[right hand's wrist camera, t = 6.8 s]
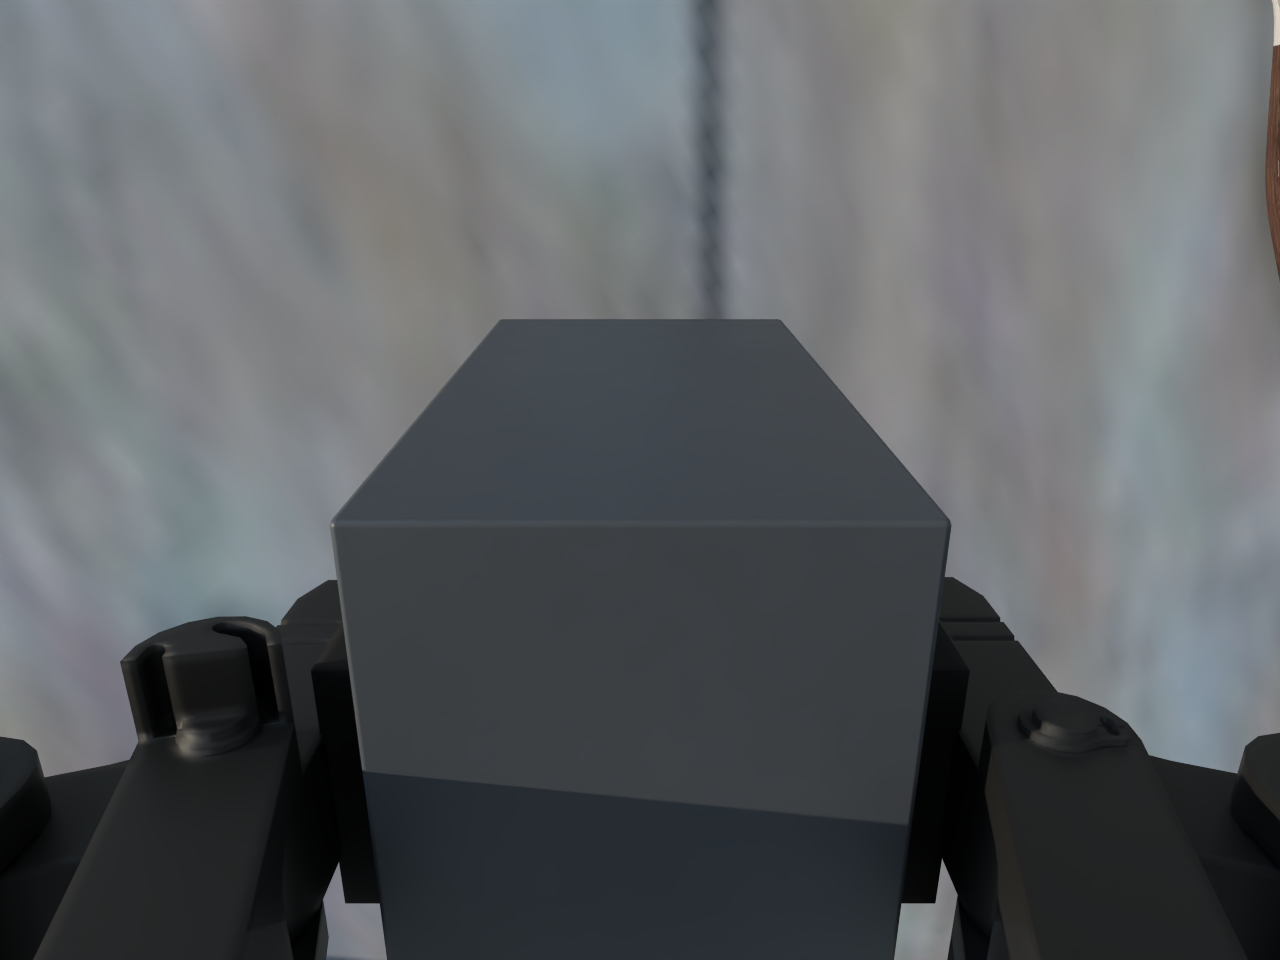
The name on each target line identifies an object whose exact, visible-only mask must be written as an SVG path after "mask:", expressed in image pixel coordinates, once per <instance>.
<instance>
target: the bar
mask: <svg viewBox="0 0 1280 960" xmlns="http://www.w3.org/2000/svg"><path fill="white" fill-rule="evenodd" d="M330 529H331V536H332V544H333V551H334V559H335V567H336V574H337V582H338V589H339V597H340V605H341V612H342V620H343V627H344V635H345V643H346V650H347V658H348V665H349V673H350V681H351V688H352V696H353V703H354V711H355V719H356V726H357V734H358V741H359V749H360V756H361V764H362V772H363V779H364V787H365V794H366V802H367V810H368V817H369V825H370V832H371V840H372V848H373V855H374V863H375V870H376V878H377V886H378V893H379V901H380V908H381V916H382V924H383V931H384V939H385V946H386V954H387V960H894V955H895V947H896V940H897V932H898V925H899V917H900V910H901V902H902V894H903V887H904V879H905V872H906V864H907V857H908V849H909V842H910V834H911V826H912V819H913V811H914V804H915V796H916V789H917V781H918V774H919V766H920V758H921V751H922V743H923V736H924V728H925V721H926V713H927V706H928V698H929V690H930V683H931V675H932V668H933V660H934V653H935V645H936V638H937V630H938V622H939V615H940V607H941V600H942V592H943V585H944V577H945V570H946V562H947V554H948V547H949V539H950V532H951V522H950V520H949V518H948V517H947V516H946V515H945V514H944V513H943V511H942V510H941V509H940V508H939V507H938V505H937V504H936V503H935V502H934V501H933V500H932V498H931V497H930V496H929V495H928V494H927V492H926V491H925V490H924V489H923V488H922V487H921V485H920V484H919V483H918V482H917V481H916V479H915V478H914V477H913V476H912V475H911V474H910V472H909V471H908V470H907V469H906V468H905V466H904V465H903V464H902V463H901V462H900V461H899V459H898V458H897V457H896V456H895V455H894V453H893V452H892V451H891V450H890V449H889V448H888V446H887V445H886V444H885V443H884V442H883V440H882V439H881V438H880V437H879V436H878V435H877V433H876V432H875V431H874V430H873V429H872V427H871V426H870V425H869V424H868V423H867V422H866V420H865V419H864V418H863V417H862V416H861V414H860V413H859V412H858V411H857V410H856V409H855V407H854V406H853V405H852V404H851V403H850V401H849V400H848V399H847V398H846V397H845V396H844V394H843V393H842V392H841V391H840V390H839V388H838V387H837V386H836V385H835V384H834V383H833V381H832V380H831V379H830V378H829V377H828V375H827V374H826V373H825V372H824V371H823V370H822V368H821V367H820V366H819V365H818V364H817V362H816V361H815V360H814V359H813V358H812V357H811V355H810V354H809V353H808V352H807V351H806V349H805V348H804V347H803V346H802V345H801V344H800V342H799V341H798V340H797V339H796V338H795V336H794V335H793V334H792V333H791V332H790V331H789V329H788V328H787V327H786V326H785V325H784V323H783V322H782V321H781V320H779V319H502V320H499V321H498V323H497V324H496V325H495V326H494V327H493V329H492V330H491V331H490V332H489V333H488V335H487V336H486V337H485V338H484V339H483V340H482V342H481V343H480V344H479V345H478V346H477V348H476V349H475V350H474V351H473V352H472V354H471V355H470V356H469V357H468V358H467V360H466V361H465V362H464V363H463V364H462V365H461V367H460V368H459V369H458V370H457V371H456V373H455V374H454V375H453V376H452V377H451V379H450V380H449V381H448V382H447V383H446V385H445V386H444V387H443V388H442V389H441V390H440V392H439V393H438V394H437V395H436V396H435V398H434V399H433V400H432V401H431V402H430V404H429V405H428V406H427V407H426V408H425V410H424V411H423V412H422V413H421V414H420V415H419V417H418V418H417V419H416V420H415V421H414V423H413V424H412V425H411V426H410V427H409V429H408V430H407V431H406V432H405V433H404V435H403V436H402V437H401V438H400V439H399V440H398V442H397V443H396V444H395V445H394V446H393V448H392V449H391V450H390V451H389V452H388V454H387V455H386V456H385V457H384V458H383V460H382V461H381V462H380V463H379V464H378V465H377V467H376V468H375V469H374V470H373V471H372V473H371V474H370V475H369V476H368V477H367V479H366V480H365V481H364V482H363V483H362V485H361V486H360V487H359V488H358V489H357V490H356V492H355V493H354V494H353V495H352V496H351V498H350V499H349V500H348V501H347V502H346V504H345V505H344V506H343V507H342V508H341V510H340V511H339V512H338V513H337V514H336V515H335V517H334V518H333V519H332V521H331V524H330Z"/></svg>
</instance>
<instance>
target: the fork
mask: <svg viewBox="0 0 1280 960" xmlns="http://www.w3.org/2000/svg"><path fill="white" fill-rule="evenodd" d="M1272 3H1273V9H1274V44H1273V61H1272V75H1271V89H1270V103H1269V117H1268V131H1267V150H1266V200H1267V209H1268V218H1269V224H1270V230H1271V236H1272V242H1273V247H1274V252H1275V258H1276V263H1277V269H1278V274H1279V280H1280V0H1272Z"/></svg>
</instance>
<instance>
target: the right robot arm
mask: <svg viewBox="0 0 1280 960" xmlns="http://www.w3.org/2000/svg"><path fill="white" fill-rule="evenodd" d="M120 663H121V667H122V672H123V676H124V680H125V684H126V689H127V693H128V697H129V702H130V706H131V710H132V714H133V719H134V723H135V727H136V731H137V736H138V740H139V742H138V744H137V746H136V748H135V750H134V752H133V754H132V756H131V759H130V760H127V761H123V762H119V763H115V764H111V765H106V766H101V767H96V768H91V769H86V770H81V771H75V772H70V773H65V774H60V775H55V776H50V777H45V778H44V775H43V771H42V768H41V764H40V761H39V757H38V754H37V750H35V749H34V748H33V747H32V746H30V745H29V744H28V743H26V742H25V741H24V740H19V739H12V738H6V737H0V960H326V955H327V946H328V938H329V936H328V929H327V922H326V916H325V909H324V903H323V898H324V895H325V893H326V891H327V888H328V886H329V884H330V881H331V879H332V877H333V874H334V872H335V870H336V867H337V865H338V863H339V864H340V871H341V877H342V884H343V891H344V897H345V903H380V901H379V893H378V886H377V878H376V870H375V863H374V855H373V848H372V840H371V832H370V825H369V817H368V810H367V802H366V794H365V787H364V779H363V772H362V764H361V756H360V749H359V741H358V734H357V726H356V719H355V711H354V703H353V696H352V688H351V681H350V673H349V665H348V658H347V650H346V643H345V635H344V627H343V620H342V612H341V605H340V597H339V589H338V582H337V580H328V581H326V582H324V583H323V584H321V585H320V586H318V587H316V588H315V589H313V590H311V591H310V592H308V593H307V594H305V595H303V596H302V597H300V598H299V599H297V601H296V602H295V603H294V605H293V606H292V607H291V608H290V610H289V611H288V612H287V614H286V615H285V616H284V618H283V619H282V620H281V625H277V627H274V626H273V625H272V624H270V623H269V622H267V621H264V620H259V619H255V618H250V617H246V616H242V617H215V618H209V619H204V620H198V621H193V622H188V623H185V624H182V625H179V626H176V627H173V628H171V629H168V630H165V631H162V632H159V633H157V634H156V635H154V636H152V637H150V638H149V639H147V640H145V641H143V642H142V643H140V644H138V645H136V646H135V647H134V648H133V649H132V650H131V651H130V652H129V653H128V654H127V655H126V656H125V657H124V658H123V659H122V660H121V661H120ZM942 859H943V861H944V864H945V866H946V868H947V871H948V873H949V875H950V878H951V880H952V882H953V885H954V887H955V889H956V892H957V894H958V897H957V903H956V909H955V916H954V922H953V928H952V934H951V941H950V947H949V953H948V959H947V960H1280V733H1276V734H1270V735H1263V736H1258V737H1257V738H1256V739H1254V740H1253V741H1252V742H1250V743H1249V744H1248V745H1247V746H1245V749H1244V753H1243V756H1242V760H1241V763H1240V767H1239V770H1238V774H1236V773H1231V772H1225V771H1220V770H1215V769H1210V768H1205V767H1200V766H1195V765H1190V764H1184V763H1179V762H1174V761H1170V760H1166V759H1162V758H1158V757H1154V756H1150V755H1148V753H1147V751H1146V749H1145V747H1144V745H1143V743H1142V740H1141V739H1140V738H1139V737H1138V735H1137V734H1136V733H1135V732H1134V730H1133V729H1132V728H1131V727H1130V726H1129V724H1128V723H1127V722H1125V721H1124V720H1122V719H1121V718H1119V717H1118V716H1116V715H1115V714H1113V713H1112V712H1110V711H1109V710H1107V709H1106V708H1104V707H1102V706H1099V705H1097V704H1094V703H1092V702H1090V701H1087V700H1085V699H1082V698H1080V697H1077V696H1073V695H1068V694H1064V693H1059V692H1057V691H1056V689H1055V688H1054V687H1053V685H1052V684H1051V683H1050V682H1049V680H1048V679H1047V678H1046V676H1045V675H1044V674H1043V673H1042V671H1041V670H1040V669H1039V667H1038V666H1037V665H1036V664H1035V662H1034V661H1033V660H1032V658H1031V657H1030V656H1029V654H1028V653H1027V652H1026V651H1025V649H1024V648H1023V647H1022V645H1021V644H1020V643H1019V642H1018V641H1015V640H1014V635H1013V634H1012V633H1011V631H1010V630H1009V629H1008V627H1007V626H1006V625H1005V623H1004V622H1000V617H999V616H998V614H997V613H996V612H995V611H994V609H993V608H992V607H991V605H990V604H989V603H988V601H987V600H986V599H985V598H984V596H982V595H981V594H979V593H978V592H976V591H974V590H973V589H971V588H969V587H968V586H966V585H965V584H963V583H961V582H960V581H958V580H956V579H955V578H953V577H944V585H943V592H942V600H941V607H940V615H939V622H938V630H937V638H936V645H935V653H934V660H933V668H932V675H931V683H930V690H929V698H928V706H927V713H926V721H925V728H924V736H923V743H922V751H921V758H920V766H919V774H918V781H917V789H916V796H915V804H914V811H913V819H912V826H911V834H910V842H909V849H908V857H907V864H906V872H905V879H904V887H903V894H902V902H901V903H935V901H936V895H937V888H938V881H939V875H940V868H941V861H942Z"/></svg>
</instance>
